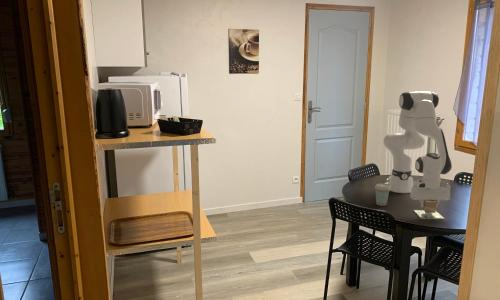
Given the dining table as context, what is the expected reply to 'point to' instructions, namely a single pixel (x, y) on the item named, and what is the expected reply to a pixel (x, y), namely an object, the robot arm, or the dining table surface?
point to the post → (428, 215)
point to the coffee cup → (382, 194)
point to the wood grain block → (429, 206)
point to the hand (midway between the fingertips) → (429, 207)
